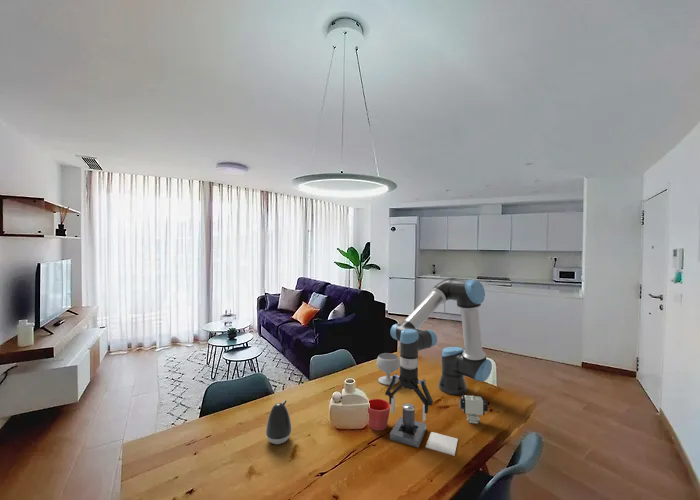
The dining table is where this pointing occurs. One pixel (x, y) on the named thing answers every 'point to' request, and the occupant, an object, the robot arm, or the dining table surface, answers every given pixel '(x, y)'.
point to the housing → (406, 437)
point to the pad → (442, 443)
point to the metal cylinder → (408, 418)
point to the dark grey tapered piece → (278, 424)
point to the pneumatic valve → (473, 407)
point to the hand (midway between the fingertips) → (408, 416)
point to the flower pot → (378, 414)
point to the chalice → (387, 366)
